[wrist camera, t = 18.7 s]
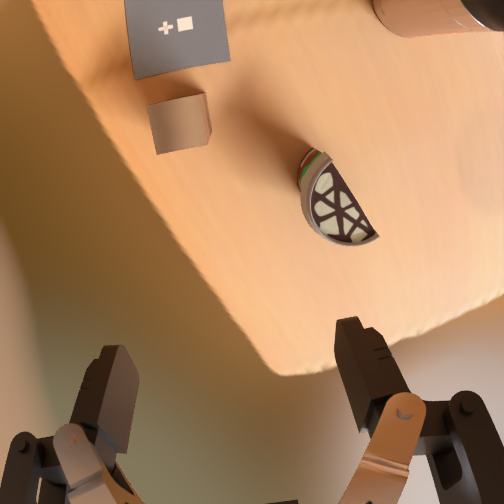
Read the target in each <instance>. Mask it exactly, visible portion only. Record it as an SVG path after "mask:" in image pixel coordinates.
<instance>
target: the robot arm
mask: <svg viewBox="0 0 504 504" xmlns="http://www.w3.org/2000/svg"><path fill="white" fill-rule="evenodd" d="M373 6H374V10H375V12H376V14H377V16H378V18H379V19H380V21H381V22H382V23H383V24H384V25H385V26H386V27H387V28H388V29H389V30H390V31H392V32H393V33H395V34H397V35H400V36H402V37H408V38H411V37H420V36H429V35H438V34H449V33H463V32H484V31H504V0H373ZM334 353H335V359H336V363H337V366H338V369H339V372H340V375H341V378H342V381H343V384H344V387H345V390H346V393H347V396H348V399H349V402H350V405H351V409H352V412H353V415H354V418H355V421H356V424H357V427H358V431H359V433H364V432H367V431H368V433H369V435H370V439H371V440H370V442H369V445H368V447H367V449H366V451H365V453H364V455H363V457H362V459H361V461H360V464H359V466H358V467H357V469H356V472H355V473H354V476H353V477H352V479H351V481H350V483H349V485H348V487H347V489H346V490H345V492H344V494H343V496H342V497H341V499H340V501H339V503H338V504H397V502H398V500H399V498H400V496H401V493H402V491H403V488H404V486H405V484H406V481H407V478H408V475H409V470H408V468H409V464H410V462H411V459H412V456H413V455H426V457H427V460H428V463H429V466H430V470H431V473H432V477H433V480H434V483H435V487H436V490H437V494H438V498H439V502H440V504H504V446H503V444H502V442H501V439H500V437H499V435H498V432H497V430H496V428H495V426H494V423H493V421H492V419H491V417H490V415H489V412H488V410H487V408H486V406H485V404H484V402H483V400H482V399H481V397H480V396H479V395H478V394H476V393H474V392H472V391H460V392H458V393H456V394H455V395H454V396H453V397H452V398H451V400H450V401H425V400H422V399H421V398H420V397H418V396H417V395H415V394H413V393H411V392H410V390H409V388H408V386H407V384H406V382H405V380H404V378H403V376H402V374H401V372H400V370H399V368H398V366H397V364H396V362H395V360H394V358H393V357H392V354H391V352H390V350H389V349H388V346H387V344H386V342H385V340H384V338H383V336H382V335H381V334H380V333H379V332H378V331H376V330H375V329H374V328H373V327H370V328H366V329H364V328H363V326H362V324H361V322H360V320H359V318H358V317H357V316H354V317H349V318H344V319H339V320H337V322H336V332H335V344H334ZM138 387H139V374H138V371H137V368H136V367H135V365H134V363H133V361H132V359H131V358H130V356H129V354H128V352H127V350H126V348H125V347H124V346H123V345H105V346H104V347H103V348H102V350H101V354H100V356H99V359H94V360H93V361H92V363H91V364H90V365H89V367H88V368H87V369H86V372H85V375H84V379H83V382H82V384H81V387H80V389H81V390H79V393H78V396H77V399H76V403H75V406H74V409H73V412H72V416H71V419H70V422H69V423H68V424H65V425H63V426H61V427H60V428H59V429H58V430H57V431H56V433H55V435H54V436H50V437H45V438H40V439H37V438H36V437H35V436H33V435H32V434H31V433H29V432H21V433H19V434H17V435H16V436H15V437H14V438H13V440H12V442H11V445H10V449H9V452H8V457H7V460H6V464H5V469H4V473H3V477H2V482H1V487H0V504H37V502H36V495H37V489H38V483H39V477H40V478H42V481H41V487H40V493H39V500H38V504H146V503H145V502H144V501H143V500H142V499H141V498H140V497H139V495H138V494H137V492H136V491H135V489H134V488H133V487H132V485H131V483H130V482H129V480H128V479H127V477H126V476H125V474H124V472H123V471H122V469H121V467H120V466H119V464H118V463H117V461H116V453H124V454H127V448H128V442H129V436H130V430H131V424H132V419H133V413H134V408H135V402H136V397H137V392H138ZM268 504H298V500H291V501H284V502H276V503H268Z"/></svg>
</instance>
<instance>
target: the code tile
mask: <svg viewBox="0 0 504 504" xmlns="http://www.w3.org/2000/svg"><path fill="white" fill-rule="evenodd" d="M125 10H126V20H127V28H128V36H129V44H130V52H131V59H132V66H133V72H134V79H135V80H137V79H140V78H144V77H148V76H153V75H157V74H161V73H166V72H170V71H175V70H180V69H185V68H190V67H196V66H202V65H208V64H214V63H221V62H228V61H230V54H229V46H228V39H227V32H226V24H225V17H224V10H223V2H222V0H125Z"/></svg>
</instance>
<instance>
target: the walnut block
mask: <svg viewBox="0 0 504 504" xmlns="http://www.w3.org/2000/svg"><path fill="white" fill-rule="evenodd" d="M147 109H148V114H149V120H150V125H151V130H152V135H153V139H154V144H155V149H156V154H157V155H158V154H163V153H168V152H173V151H178V150H183V149H188V148H193V147H199V146H204V145H207V144H208V141H209V138H210V135H211V132H212V128H211V121H210V115H209V109H208V103H207V97H206V93H202V94H197V95H191V96H186V97H181V98H176V99H172V100H167V101H163V102H159V103H156V104H152V105H148V106H147Z"/></svg>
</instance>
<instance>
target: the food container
mask: <svg viewBox="0 0 504 504" xmlns="http://www.w3.org/2000/svg"><path fill="white" fill-rule="evenodd" d="M332 161H333V160H332V159H331V158H330V156H329V155H328V154H326V153H325V152H323V153H321V152H320V151H318V150H316V149H314V148H312V149H311V150H310V151H309V152H308V153H307V154H306V155H305V157H304V158H303V160H302V161H301V163H300V166H299V169H298V172H297V181H298V186H299V189H300V192H301V207H302V211H303V214H304V216H305V219H306V221H307V222H308V224H309V225H310V226H311V228H312V229H313V230H314V231H315V232H317V233H318V234H319V235H321V236H322V237H323V238H324V239H326V240H328V241H330V242H332V243H335V244H338V245H343V246H359V245H364V244H367V243H370V242H372V241H374V240H376V239H377V238H379V237H380V236H379V235H378V234H377V232H376V231H375V230H374V229H373V227H372V226H371V224H370V223H369V221H368V219H367V217H366V216H365V214H364V212H363V211H362V209H361V207H360V206H359V204H358V202H357V200H356V199H355V197H354V196H353V194H352V193H351V191H350V190H349V188H348V186H347V185H346V183H345V182H344V180H343V179H342V177H341V175H340V174H339V172H338V171H337V169H336V168H335V166H334V165H333V164H332Z"/></svg>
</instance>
